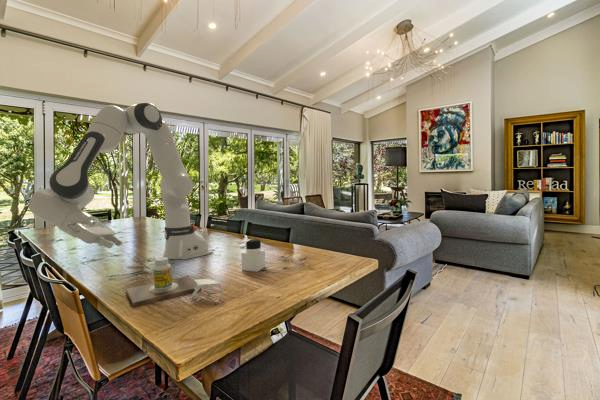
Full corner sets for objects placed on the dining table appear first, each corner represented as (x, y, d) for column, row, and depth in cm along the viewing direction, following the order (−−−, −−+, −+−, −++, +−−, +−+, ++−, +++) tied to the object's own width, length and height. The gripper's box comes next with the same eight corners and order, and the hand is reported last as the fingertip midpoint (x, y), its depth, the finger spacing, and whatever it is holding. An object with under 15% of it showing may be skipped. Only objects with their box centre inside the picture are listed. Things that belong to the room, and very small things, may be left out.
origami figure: (182, 302, 92) (182, 286, 92) (195, 291, 101) (194, 277, 100) (220, 303, 91) (220, 287, 91) (230, 293, 99) (230, 278, 99)
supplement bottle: (173, 283, 104) (172, 256, 103) (170, 289, 99) (169, 260, 98) (156, 285, 103) (154, 257, 102) (152, 291, 98) (150, 261, 97)
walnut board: (188, 279, 113) (188, 275, 113) (201, 290, 101) (200, 286, 101) (126, 292, 101) (126, 288, 101) (133, 306, 90) (133, 302, 89)
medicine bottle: (265, 266, 127) (264, 238, 126) (257, 272, 120) (256, 242, 119) (250, 265, 129) (249, 237, 128) (241, 270, 122) (240, 240, 121)
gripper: (71, 215, 95) (112, 239, 97) (97, 217, 115) (130, 236, 117) (57, 233, 94) (99, 256, 96) (86, 231, 114) (120, 250, 116)
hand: (116, 245), depth 107 cm, fingers open, 8 cm apart
